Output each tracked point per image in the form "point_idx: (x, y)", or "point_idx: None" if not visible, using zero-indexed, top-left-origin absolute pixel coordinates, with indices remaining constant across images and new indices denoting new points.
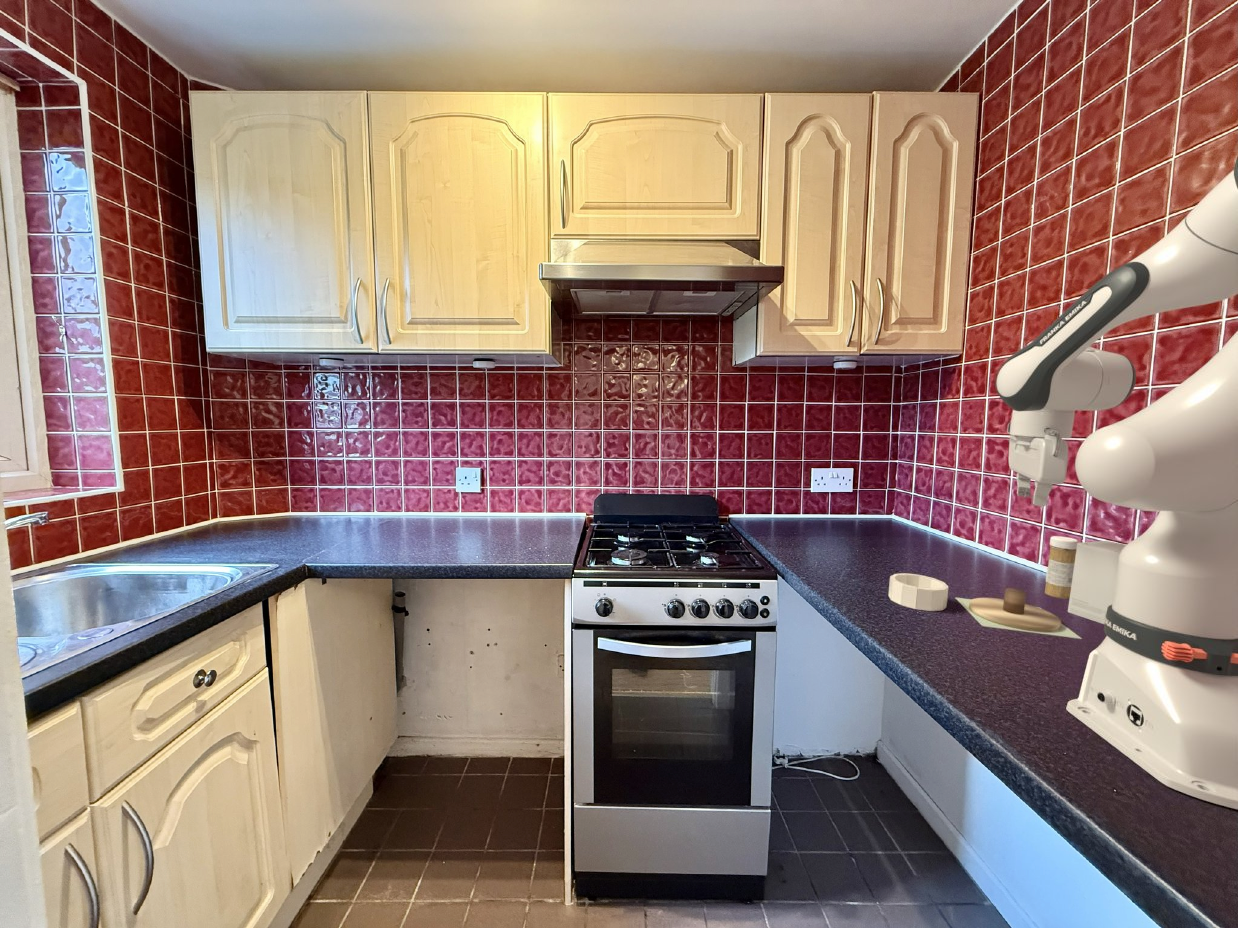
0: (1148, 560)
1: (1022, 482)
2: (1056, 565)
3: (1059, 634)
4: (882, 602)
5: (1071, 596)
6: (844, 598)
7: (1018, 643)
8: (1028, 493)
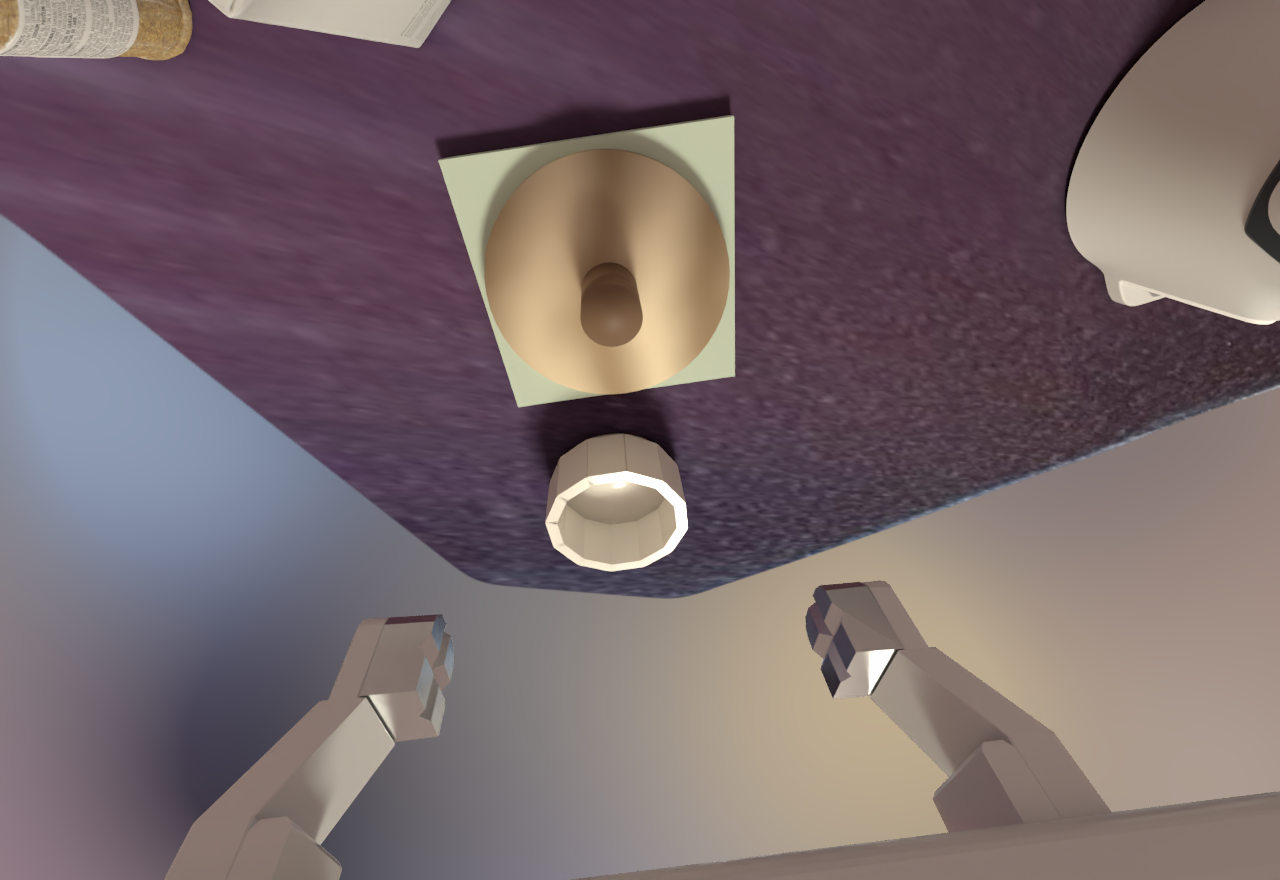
0: None
1: (335, 786)
2: (43, 22)
3: (721, 183)
4: None
5: (396, 38)
6: (651, 582)
7: (795, 305)
8: (425, 647)
